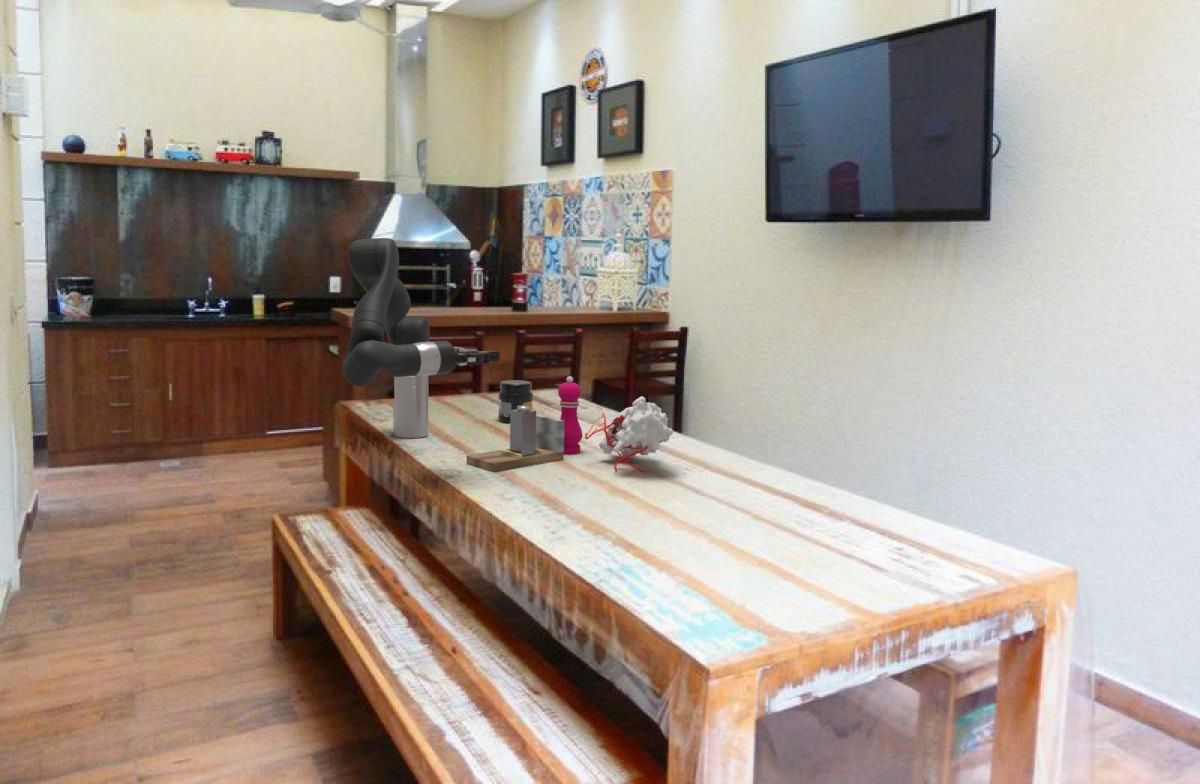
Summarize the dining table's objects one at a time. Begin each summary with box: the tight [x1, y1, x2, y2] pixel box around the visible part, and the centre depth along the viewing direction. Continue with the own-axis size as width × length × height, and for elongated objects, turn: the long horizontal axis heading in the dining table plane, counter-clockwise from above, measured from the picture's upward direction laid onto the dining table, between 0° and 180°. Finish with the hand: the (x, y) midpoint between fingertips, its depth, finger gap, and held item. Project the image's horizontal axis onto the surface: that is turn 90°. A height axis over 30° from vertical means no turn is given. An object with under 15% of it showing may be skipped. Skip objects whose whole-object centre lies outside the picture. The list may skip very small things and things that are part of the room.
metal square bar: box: [509, 406, 537, 457], centre depth 231 cm, size 4×4×12 cm
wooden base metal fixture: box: [466, 413, 565, 473], centre depth 232 cm, size 11×22×10 cm, turn 134°
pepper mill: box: [557, 376, 583, 455], centre depth 244 cm, size 7×7×20 cm
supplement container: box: [497, 379, 534, 424], centre depth 286 cm, size 10×10×12 cm
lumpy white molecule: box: [584, 396, 674, 473], centre depth 229 cm, size 20×18×25 cm
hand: (487, 353), depth 221 cm, fingers open, 8 cm apart
